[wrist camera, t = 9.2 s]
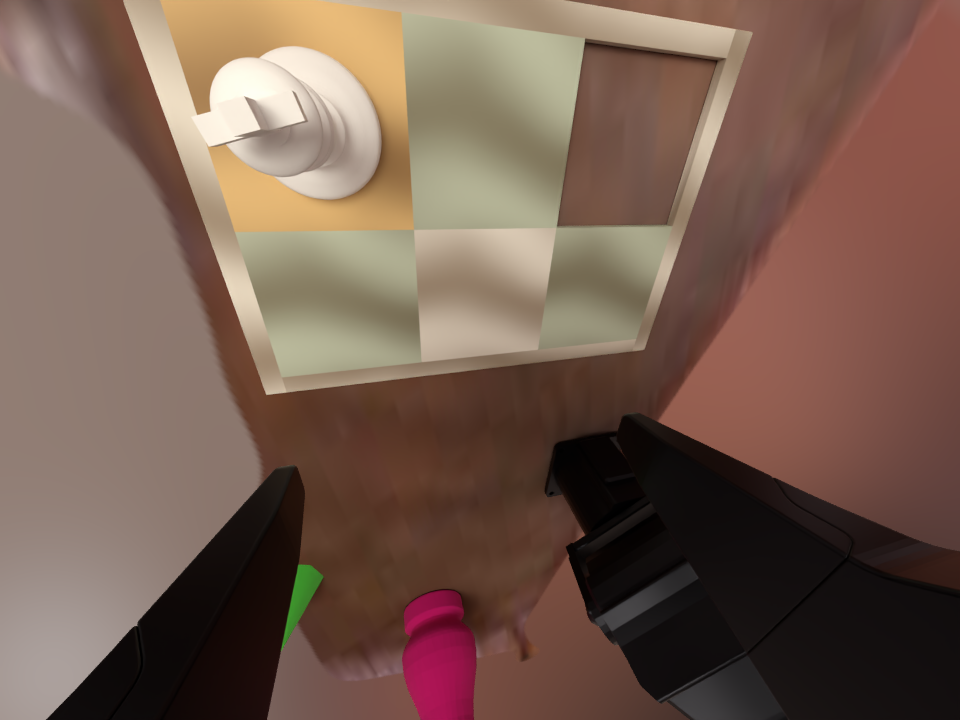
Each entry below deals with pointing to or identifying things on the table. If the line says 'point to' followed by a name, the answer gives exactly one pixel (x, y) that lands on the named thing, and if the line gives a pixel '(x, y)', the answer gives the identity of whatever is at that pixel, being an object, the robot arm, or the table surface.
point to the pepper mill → (439, 657)
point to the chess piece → (296, 121)
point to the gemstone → (301, 596)
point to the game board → (429, 186)
